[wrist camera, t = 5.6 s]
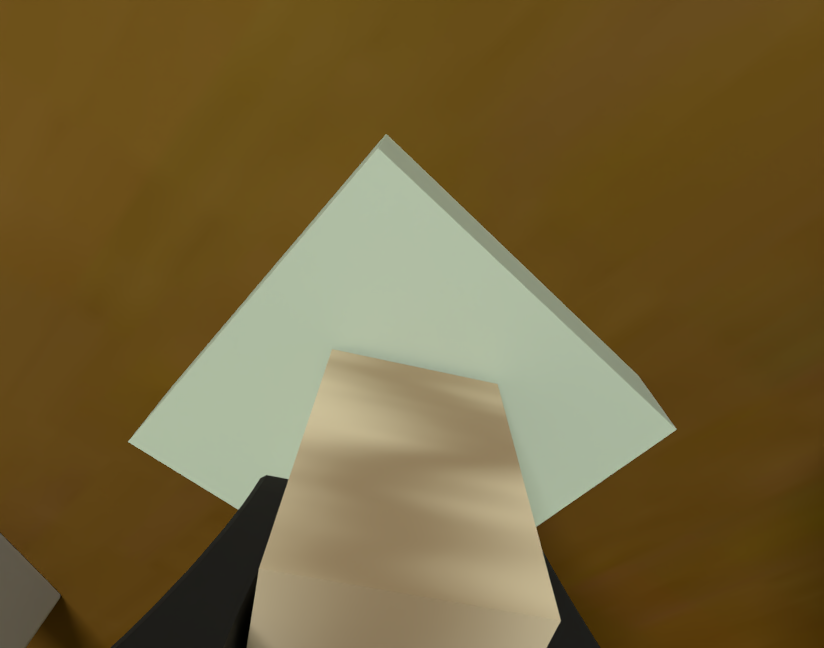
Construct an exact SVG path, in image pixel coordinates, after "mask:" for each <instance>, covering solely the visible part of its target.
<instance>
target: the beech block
mask: <svg viewBox="0 0 824 648" xmlns="http://www.w3.org/2000/svg"><path fill="white" fill-rule="evenodd" d="M560 621H561V619H560V615H559V612H558V608H557V604H556V600H555V597H554V593H553V589H552V585H551V582H550V578H549V574H548V570H547V567H546V563H545V559H544V555H543V552H542V548H541V544H540V541H539V537H538V533H537V529H536V526H535V522H534V518H533V514H532V511H531V507H530V503H529V499H528V496H527V492H526V488H525V484H524V481H523V477H522V473H521V469H520V466H519V462H518V458H517V454H516V451H515V447H514V443H513V439H512V436H511V432H510V428H509V425H508V421H507V417H506V413H505V410H504V406H503V402H502V398H501V395H500V391H499V387H498V384H495V383H491V382H486V381H481V380H476V379H472V378H467V377H462V376H457V375H453V374H448V373H443V372H438V371H434V370H429V369H424V368H420V367H415V366H410V365H405V364H401V363H396V362H391V361H386V360H382V359H377V358H372V357H367V356H363V355H358V354H353V353H349V352H344V351H339V350H334V349H332V351H331V354H330V357H329V360H328V363H327V366H326V369H325V372H324V375H323V378H322V381H321V384H320V387H319V390H318V393H317V396H316V399H315V402H314V405H313V408H312V411H311V414H310V417H309V420H308V423H307V426H306V429H305V432H304V435H303V438H302V441H301V444H300V447H299V450H298V453H297V456H296V459H295V462H294V465H293V468H292V471H291V474H290V477H289V480H288V483H287V486H286V489H285V492H284V495H283V498H282V501H281V504H280V507H279V510H278V513H277V516H276V519H275V522H274V525H273V528H272V531H271V534H270V537H269V540H268V543H267V546H266V549H265V552H264V555H263V558H262V561H261V564H260V567H259V572H258V578H257V584H256V591H255V597H254V604H253V610H252V617H251V623H250V629H249V636H248V642H247V648H547V646H548V644H549V642H550V640H551V638H552V637H553V635H554V633H555V631H556V629H557V627H558V625H559V623H560Z"/></svg>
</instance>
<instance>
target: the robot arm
mask: <svg viewBox="0 0 824 648" xmlns="http://www.w3.org/2000/svg"><path fill="white" fill-rule="evenodd" d="M288 480H289V479H285V478H280V477H275V476H269V475H265V476H264V477H262V478H260V479H259V481H258V482H257V484H256V486H255V487H254V489H253V490H252V492H251V493H250V495H249V496H248V497H247V499H246V500H245V502H244V503H243V504H242V506H241V507H240V508H239V510H238V511H237V512H236V514H235V515H234V516H233V518H232V519H231V520H230V521H229V523H228V524H227V525H226V526H225V528H224V529H223V530H222V531H221V533H220V534H219V535H218V536H217V537H216V538H215V540H214V541H213V542H212V543H211V544H210V545H209V547H208V548H207V549H206V550H205V551H204V552H203V554H202V555H201V556H200V557H199V558H198V559H197V561H196V562H195V563H194V564H193V565H192V566H191V567H190V568H189V570H188V571H187V572H186V573H185V574H184V575H183V576H182V577H181V578H180V579H179V580H178V581H177V582H176V583H175V584H174V585H173V586H172V587H171V589H170V590H169V591H168V592H167V593H166V594H165V595H164V596H163V597H162V598H161V599H160V600H159V601H158V602H157V603H156V604H155V605H154V606H153V607H152V608H151V609H150V610H149V611H148V612H147V613H146V614H145V615H144V616H143V617H142V618H141V619H140V620H139V621H138V622H137V623H136V624H135V625H134V626H133V627H132V628H131V629H130V630H129V631H128V632H127V633H126V634H125V635H124V636H123V637H122V638H121V639H119V640H118V641H117V642H116V643H115V644H114V645H113V646H112V647H111V648H247V642H248V636H249V629H250V623H251V617H252V610H253V604H254V597H255V591H256V584H257V578H258V572H259V567H260V564H261V561H262V558H263V555H264V552H265V549H266V546H267V543H268V540H269V537H270V534H271V531H272V528H273V525H274V522H275V519H276V516H277V513H278V510H279V507H280V504H281V501H282V498H283V495H284V492H285V489H286V486H287V483H288ZM542 552H543V551H542ZM543 555H544V559H545V563H546V567H547V570H548V574H549V578H550V582H551V585H552V589H553V593H554V597H555V600H556V604H557V608H558V612H559V615H560V619H561V621H560V623H559V625H558V627H557V629H556V631H555V633H554V635H553V637H552V638H551V640H550V642H549V644H548V646H547V648H600V647H599V645H598V643H597V642H596V640H595V639H594V637H593V635H592V634H591V632H590V631H589V629H588V627H587V626H586V624H585V622H584V621H583V619H582V618H581V616H580V614H579V613H578V611H577V609H576V608H575V606H574V604H573V603H572V601H571V599H570V598H569V596H568V594H567V593H566V591H565V589H564V587H563V586H562V584H561V582H560V581H559V579H558V577H557V575H556V574H555V572H554V570H553V568H552V567H551V565H550V563H549V561H548V560H547V558H546V556H545V554H544V552H543Z"/></svg>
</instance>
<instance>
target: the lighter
mask: <svg viewBox="0 0 824 648" xmlns="http://www.w3.org/2000/svg"><path fill="white" fill-rule="evenodd" d="M60 596H61V595H60V594H59V593H58V592H57V591H56V590H55V589H54V588H53V586H52V585H51V584H50V583H49V582H48V581H47V580H46V579H45V578H44V577H43V576H42V575H41V574H40V573H39V572H38V571H37V570H36V569H35V568H34V567H33V566H32V565H31V564H30V563H29V562H28V561H27V560H26V559H25V558H24V557H23V556H22V555H21V554H20V553H19V552H18V551H17V550H16V549H15V548H14V547H13V546H12V545H11V544H10V543H9V542H8V541H7V540H6V538H5V537H4V536H3V535H2V534H1V533H0V648H26V647H27V645H28V644H29V642H30V641H31V639H32V638H33V637H34V635H35V634H36V632H37V631H38V629H39V628H40V626H41V625H42V624H43V622H44V621H45V619H46V618H47V616H48V615H49V613H50V612H51V611H52V609H53V608H54V606H55V605H56V603H57V602H58V600H59V599H60Z"/></svg>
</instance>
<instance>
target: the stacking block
mask: <svg viewBox="0 0 824 648" xmlns="http://www.w3.org/2000/svg"><path fill="white" fill-rule="evenodd" d="M332 349H334V350H339V351H344V352H349V353H353V354H358V355H363V356H367V357H372V358H377V359H382V360H386V361H391V362H396V363H401V364H405V365H410V366H415V367H420V368H424V369H429V370H434V371H438V372H443V373H448V374H453V375H457V376H462V377H467V378H472V379H476V380H481V381H486V382H491V383H495V384H498V387H499V391H500V395H501V398H502V402H503V406H504V410H505V413H506V417H507V421H508V425H509V428H510V432H511V436H512V439H513V443H514V447H515V451H516V454H517V458H518V462H519V466H520V469H521V473H522V477H523V481H524V484H525V488H526V492H527V496H528V499H529V503H530V507H531V511H532V514H533V518H534V522H535V526H536V527H537V526H538V525H539V524H541V523H542V522H544V521H545V520H547V519H548V518H550V517H551V516H552V515H554V514H555V513H557V512H558V511H560V510H561V509H563V508H564V507H565V506H567V505H568V504H570V503H571V502H573V501H574V500H575V499H577V498H578V497H580V496H581V495H583V494H584V493H586V492H587V491H588V490H590V489H591V488H593V487H594V486H596V485H597V484H599V483H600V482H601V481H603V480H604V479H606V478H607V477H609V476H610V475H612V474H613V473H614V472H616V471H617V470H619V469H620V468H622V467H623V466H625V465H626V464H627V463H629V462H630V461H632V460H633V459H635V458H636V457H638V456H639V455H640V454H642V453H643V452H645V451H646V450H648V449H649V448H651V447H652V446H653V445H655V444H656V443H658V442H659V441H661V440H662V439H664V438H665V437H666V436H668V435H669V434H671V433H672V432H674V431H675V430H677V429H676V428H675V426H674V425H673V424H672V422H671V421H670V419H669V418H668V417H667V415H666V414H665V412H664V411H663V410H662V408H661V407H660V405H659V404H658V403H657V401H656V400H655V398H654V397H653V396H652V394H651V393H650V391H649V390H648V389H647V387H646V386H645V384H644V383H643V382H642V380H641V379H640V377H639V376H638V375H637V374H636V373H635V372H634V371H633V370H632V369H631V368H630V367H629V366H628V365H627V364H626V363H624V362H623V361H622V360H621V359H620V358H619V357H618V356H617V355H616V354H615V353H614V352H613V351H612V350H611V349H610V348H609V347H608V346H607V345H606V344H605V343H604V342H603V341H602V340H600V339H599V338H598V337H597V336H596V335H595V334H594V333H593V332H592V331H591V330H590V329H589V328H588V327H587V326H586V325H585V324H584V323H583V322H582V321H581V320H580V319H579V318H578V317H577V316H575V315H574V314H573V313H572V312H571V311H570V310H569V309H568V308H567V307H566V306H565V305H564V304H563V303H562V302H561V301H560V300H559V299H558V298H557V297H556V296H555V295H554V294H553V293H551V292H550V291H549V290H548V289H547V288H546V287H545V286H544V285H543V284H542V283H541V282H540V281H539V280H538V279H537V278H536V277H535V276H534V275H533V274H532V273H531V272H530V271H529V270H528V269H526V268H525V267H524V266H523V265H522V264H521V263H520V262H519V261H518V260H517V259H516V258H515V257H514V256H513V255H512V254H511V253H510V252H509V251H508V250H507V249H506V248H505V247H504V246H503V245H501V244H500V243H499V242H498V241H497V240H496V239H495V238H494V237H493V236H492V235H491V234H490V233H489V232H488V231H487V230H486V229H485V228H484V227H483V226H482V225H481V224H480V223H479V222H477V221H476V220H475V219H474V218H473V217H472V216H471V215H470V214H469V213H468V212H467V211H466V210H465V209H464V208H463V207H462V206H461V205H460V204H459V203H458V202H457V201H456V200H455V199H454V198H452V197H451V196H450V195H449V194H448V193H447V192H446V191H445V190H444V189H443V188H442V187H441V186H440V185H439V184H438V183H437V182H436V181H435V180H434V179H433V178H432V177H431V176H430V175H429V174H427V173H426V172H425V171H424V170H423V169H422V168H421V167H420V166H419V165H418V164H417V163H416V162H415V161H414V160H413V159H412V158H411V157H410V156H409V155H408V154H407V153H406V152H405V151H403V150H402V149H401V148H400V147H399V146H398V145H397V144H396V143H395V142H394V141H393V140H392V139H391V138H390V137H389V136H388V135H387V134H386V135H385V136H384V137H383V138H382V139H381V141H380V142H379V143H378V144H377V145H376V146H375V148H374V149H373V150H372V151H371V152H370V153H369V155H368V156H367V157H366V158H365V159H364V161H363V162H362V163H361V164H360V165H359V166H358V168H357V169H356V170H355V171H354V172H353V174H352V175H351V176H350V177H349V178H348V179H347V181H346V182H345V183H344V184H343V185H342V187H341V188H340V189H339V190H338V191H337V192H336V194H335V195H334V196H333V197H332V198H331V200H330V201H329V202H328V203H327V204H326V205H325V207H324V208H323V209H322V210H321V211H320V213H319V214H318V215H317V216H316V217H315V218H314V220H313V221H312V222H311V223H310V224H309V225H308V227H307V228H306V229H305V230H304V231H303V233H302V234H301V235H300V236H299V237H298V238H297V240H296V241H295V242H294V243H293V244H292V246H291V247H290V248H289V249H288V250H287V251H286V253H285V254H284V255H283V256H282V257H281V259H280V260H279V261H278V262H277V263H276V264H275V266H274V267H273V268H272V269H271V270H270V272H269V273H268V274H267V275H266V276H265V277H264V279H263V280H262V281H261V282H260V283H259V285H258V286H257V287H256V288H255V289H254V290H253V292H252V293H251V294H250V295H249V296H248V297H247V299H246V300H245V301H244V302H243V303H242V305H241V306H240V307H239V308H238V309H237V310H236V312H235V313H234V314H233V315H232V316H231V318H230V319H229V320H228V321H227V322H226V323H225V325H224V326H223V327H222V328H221V329H220V331H219V332H218V333H217V334H216V335H215V336H214V338H213V339H212V340H211V341H210V342H209V344H208V345H207V346H206V347H205V348H204V349H203V351H202V352H201V353H200V354H199V355H198V357H197V358H196V359H195V360H194V361H193V362H192V364H191V365H190V366H189V367H188V368H187V370H186V371H185V372H184V373H183V374H182V375H181V377H180V378H179V379H178V380H177V381H176V382H175V384H174V385H173V386H172V387H171V388H170V390H169V391H168V392H167V393H166V395H165V396H164V397H163V399H162V400H161V401H160V402H159V404H158V405H157V406H156V407H155V409H154V410H153V411H152V412H151V414H150V415H149V416H148V417H147V419H146V420H145V421H144V422H143V424H142V425H141V426H140V427H139V429H138V430H137V431H136V432H135V434H134V435H133V436H132V438H131V439H130V440H129V441H128V442H129V443H131V444H132V445H134V446H136V447H137V448H139V449H141V450H142V451H144V452H145V453H147V454H149V455H150V456H152V457H154V458H155V459H157V460H158V461H160V462H162V463H163V464H165V465H167V466H168V467H170V468H172V469H173V470H175V471H176V472H178V473H180V474H181V475H183V476H185V477H186V478H188V479H189V480H191V481H193V482H194V483H196V484H198V485H199V486H201V487H202V488H204V489H206V490H207V491H209V492H211V493H212V494H214V495H216V496H217V497H219V498H220V499H222V500H224V501H225V502H227V503H229V504H230V505H232V506H233V507H235V508H237V509H238V510H239V508H240V507H241V506H242V504H243V503H244V502H245V500H246V499H247V497H248V496H249V495H250V493H251V492H252V490H253V489H254V487H255V486H256V484H257V482H258V481H259V479H260V478H262V477H264V476H265V475H269V476H275V477H280V478H285V479H289V477H290V474H291V471H292V468H293V465H294V462H295V459H296V456H297V453H298V450H299V447H300V444H301V441H302V438H303V435H304V432H305V429H306V426H307V423H308V420H309V417H310V414H311V411H312V408H313V405H314V402H315V399H316V396H317V393H318V390H319V387H320V384H321V381H322V378H323V375H324V372H325V369H326V366H327V363H328V360H329V357H330V354H331V351H332Z"/></svg>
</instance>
